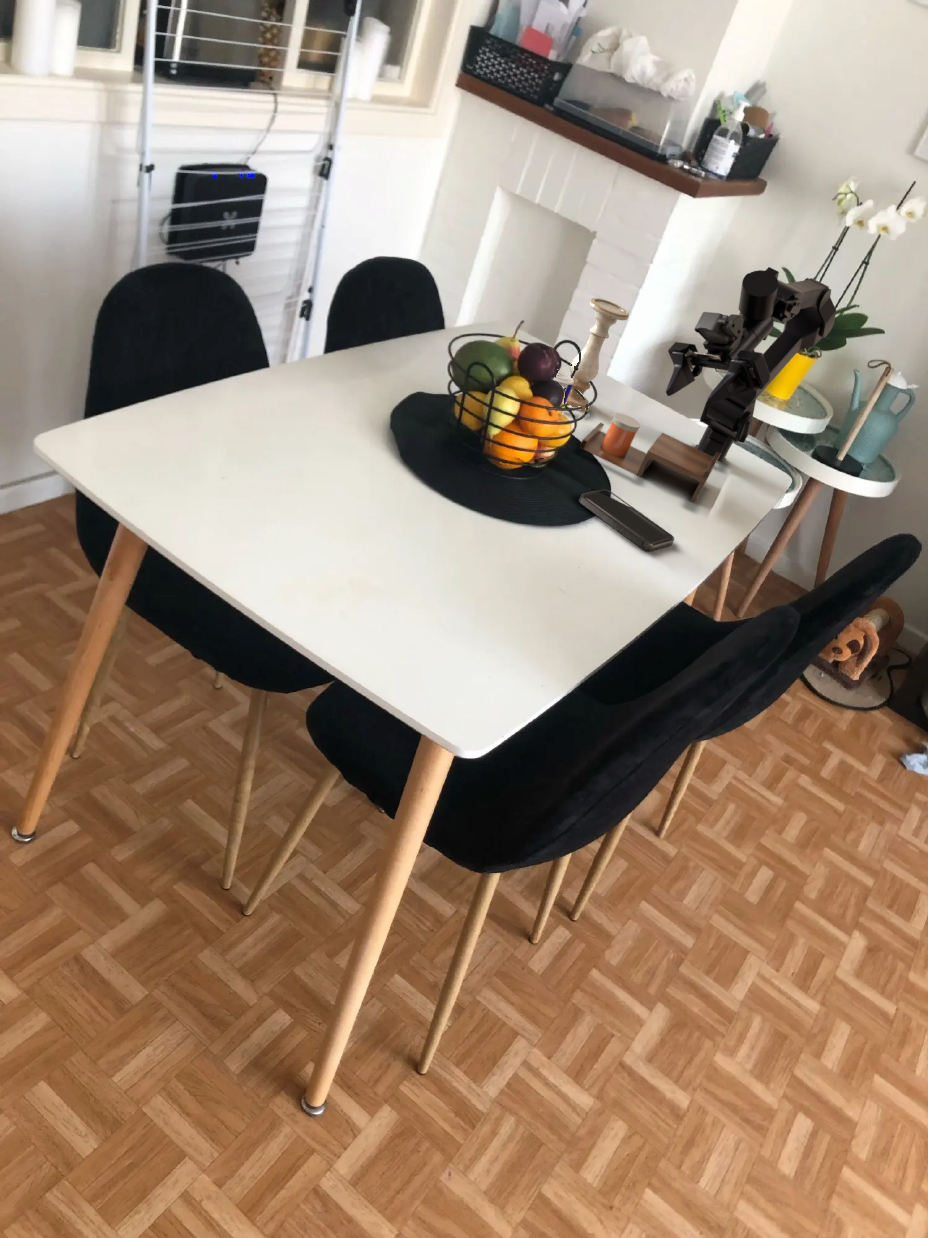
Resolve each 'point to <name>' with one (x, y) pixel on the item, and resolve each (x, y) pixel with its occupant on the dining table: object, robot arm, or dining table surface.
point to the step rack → (657, 457)
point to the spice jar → (620, 435)
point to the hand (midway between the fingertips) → (687, 397)
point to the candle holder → (593, 349)
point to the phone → (627, 520)
